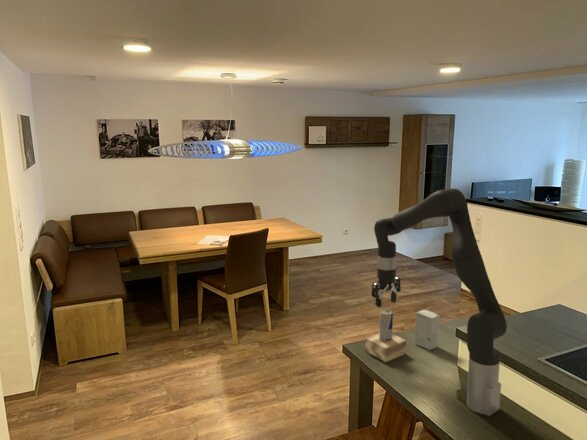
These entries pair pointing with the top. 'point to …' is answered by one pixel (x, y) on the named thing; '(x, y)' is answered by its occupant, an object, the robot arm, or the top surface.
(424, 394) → the top surface
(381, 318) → the energy drink
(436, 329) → the skincare box
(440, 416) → the top surface
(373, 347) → the birch block
